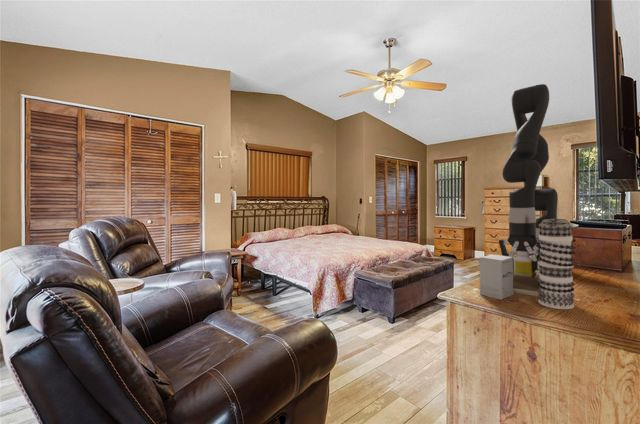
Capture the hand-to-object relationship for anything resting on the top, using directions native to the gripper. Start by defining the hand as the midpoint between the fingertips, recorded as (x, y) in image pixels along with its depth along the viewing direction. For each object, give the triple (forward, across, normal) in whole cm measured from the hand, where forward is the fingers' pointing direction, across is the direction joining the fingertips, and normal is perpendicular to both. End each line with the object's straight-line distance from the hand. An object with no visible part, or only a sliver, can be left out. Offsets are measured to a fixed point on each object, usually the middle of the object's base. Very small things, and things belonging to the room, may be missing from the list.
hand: (522, 270), depth 103 cm
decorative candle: (+7, -9, +10) cm, 15 cm away
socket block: (+7, 0, 0) cm, 7 cm away
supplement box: (+7, +6, +10) cm, 13 cm away
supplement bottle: (+3, 0, 0) cm, 3 cm away
